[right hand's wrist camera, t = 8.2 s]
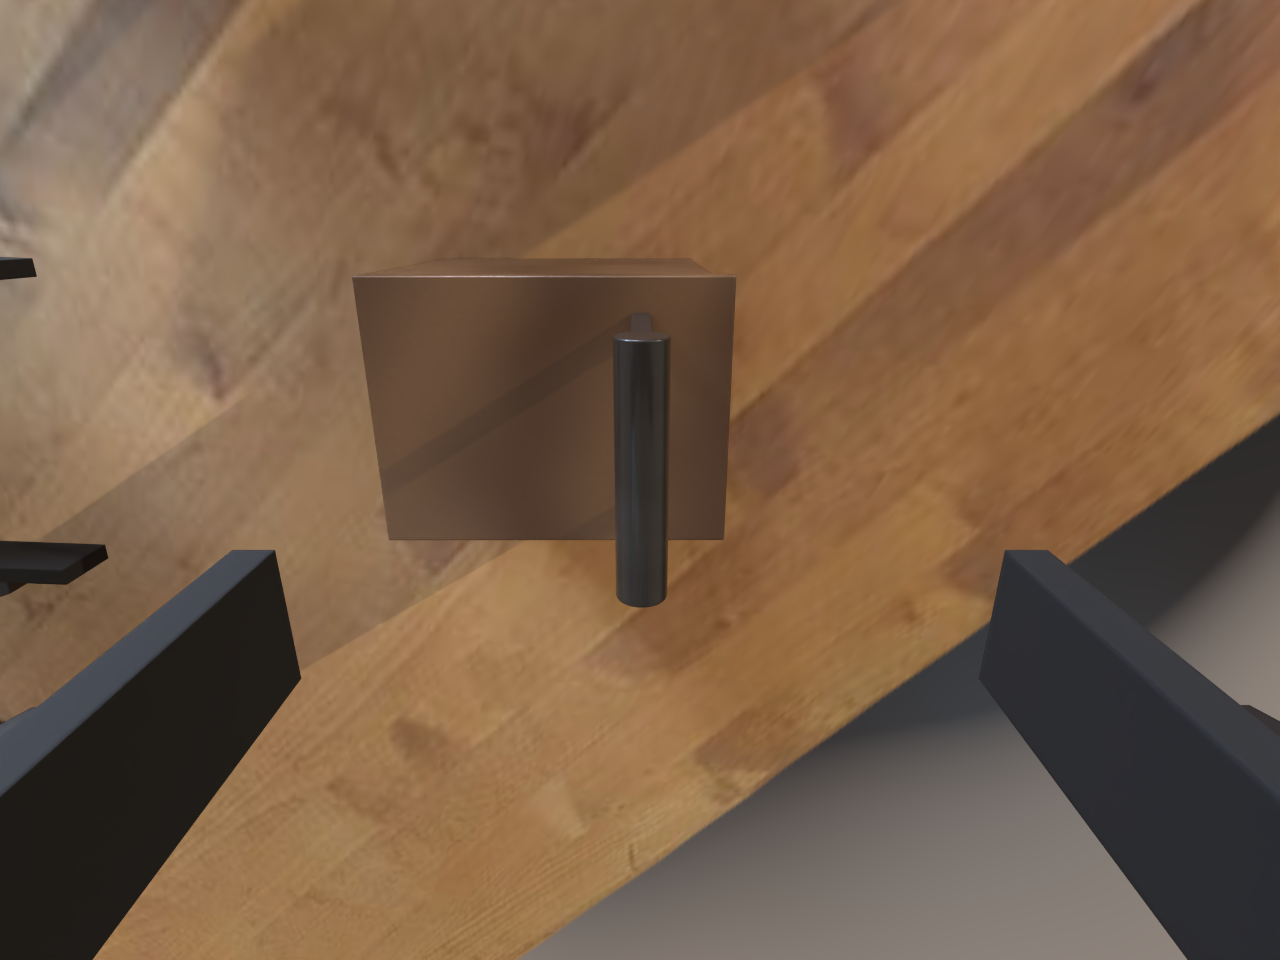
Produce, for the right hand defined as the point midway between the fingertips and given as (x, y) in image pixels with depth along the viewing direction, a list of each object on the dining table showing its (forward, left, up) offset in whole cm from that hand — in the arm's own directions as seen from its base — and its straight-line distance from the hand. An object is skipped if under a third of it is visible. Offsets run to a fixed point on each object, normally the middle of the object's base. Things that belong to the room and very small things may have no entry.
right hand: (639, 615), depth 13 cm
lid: (-2, -3, -15) cm, 15 cm away
